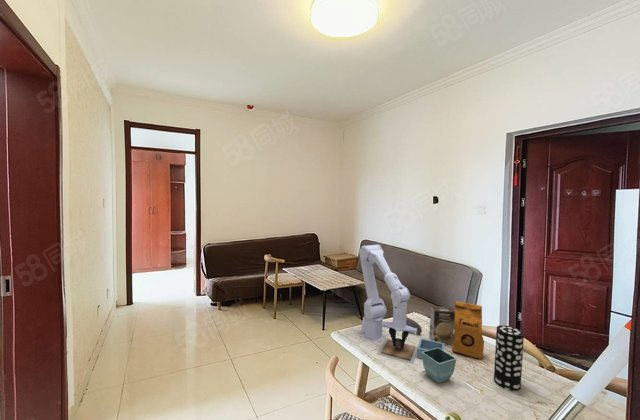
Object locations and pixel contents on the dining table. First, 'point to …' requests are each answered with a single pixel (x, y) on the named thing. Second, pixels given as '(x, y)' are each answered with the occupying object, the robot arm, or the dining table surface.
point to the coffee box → (442, 325)
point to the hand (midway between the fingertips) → (398, 346)
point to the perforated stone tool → (413, 325)
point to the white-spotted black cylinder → (508, 357)
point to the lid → (398, 349)
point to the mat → (396, 357)
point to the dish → (427, 346)
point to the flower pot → (438, 364)
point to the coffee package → (468, 330)
